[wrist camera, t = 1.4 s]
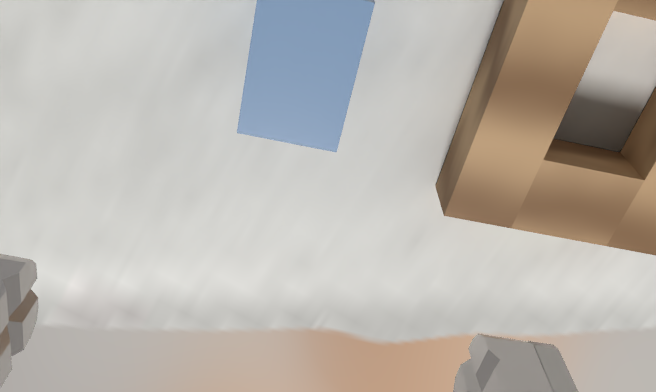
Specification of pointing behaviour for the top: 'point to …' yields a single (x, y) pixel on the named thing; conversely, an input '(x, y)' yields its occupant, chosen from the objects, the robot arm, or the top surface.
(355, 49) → the block
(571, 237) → the wooden base block
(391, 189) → the top surface
